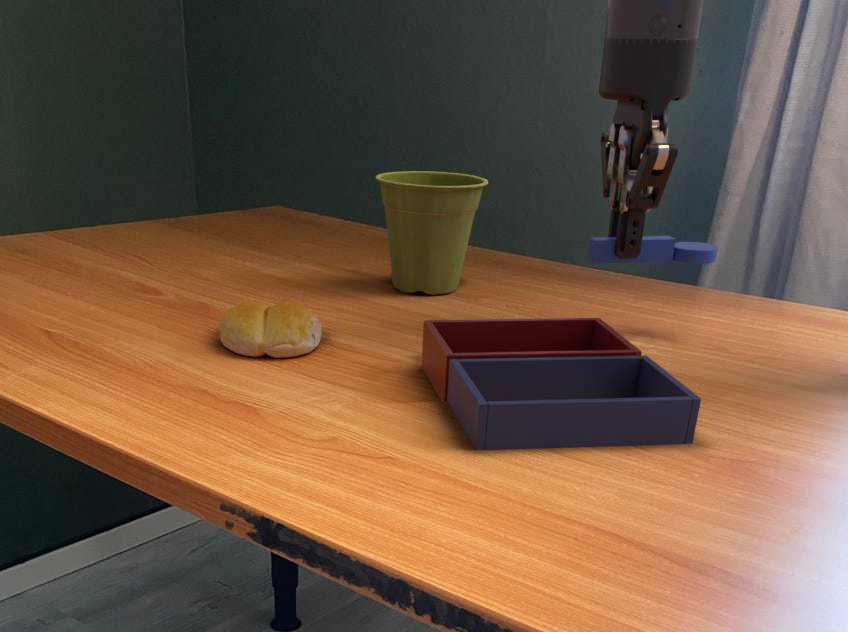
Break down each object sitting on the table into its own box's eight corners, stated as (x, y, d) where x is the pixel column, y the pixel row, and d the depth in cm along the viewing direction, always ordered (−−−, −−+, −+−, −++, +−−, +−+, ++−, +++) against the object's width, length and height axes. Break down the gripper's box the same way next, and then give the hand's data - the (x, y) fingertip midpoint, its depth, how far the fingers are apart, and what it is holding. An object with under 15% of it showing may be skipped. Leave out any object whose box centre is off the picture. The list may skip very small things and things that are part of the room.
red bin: (593, 364, 86) (599, 317, 84) (634, 402, 78) (642, 351, 76) (421, 367, 85) (423, 320, 83) (443, 407, 76) (446, 355, 74)
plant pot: (446, 307, 103) (453, 189, 97) (352, 290, 109) (353, 178, 103) (499, 286, 111) (508, 176, 106) (409, 272, 117) (413, 167, 111)
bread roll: (234, 332, 93) (232, 288, 91) (327, 338, 92) (327, 294, 90) (206, 356, 87) (203, 309, 84) (306, 363, 85) (306, 316, 83)
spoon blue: (596, 266, 89) (599, 243, 88) (582, 257, 93) (585, 234, 92) (723, 263, 90) (727, 240, 89) (704, 254, 94) (708, 232, 93)
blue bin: (638, 406, 77) (647, 355, 75) (690, 455, 68) (701, 398, 66) (446, 411, 75) (449, 359, 73) (475, 462, 67) (479, 404, 65)
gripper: (729, 34, 77) (690, 269, 86) (664, 33, 88) (636, 240, 97) (635, 34, 76) (606, 271, 85) (582, 33, 87) (561, 242, 97)
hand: (622, 254), depth 91 cm, fingers closed on spoon blue, 1 cm apart
